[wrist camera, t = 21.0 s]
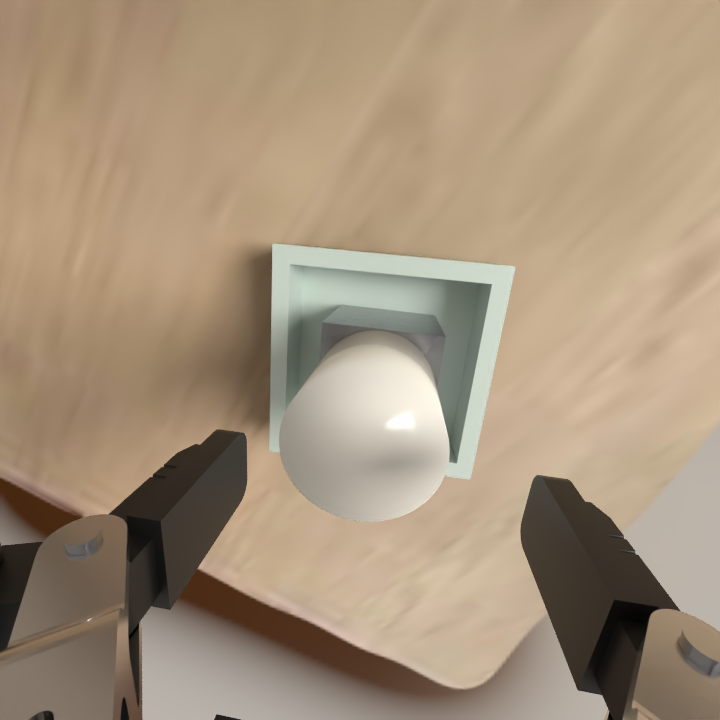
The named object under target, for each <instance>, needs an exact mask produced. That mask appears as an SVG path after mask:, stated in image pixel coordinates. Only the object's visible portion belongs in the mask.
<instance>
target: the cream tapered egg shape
mask: <svg viewBox="0 0 720 720" xmlns="http://www.w3.org/2000/svg"><path fill="white" fill-rule="evenodd" d="M279 450H280V455H281V460H282V463H283V466H284V468H285V470H286V472H287V474H288V476H289V478H290V480H291V481H292V483H293V484H294V485H295V487H296V488H297V489H298V490H299V491H300V493H301V494H303V495H304V496H305V497H306V498H307V499H308V500H309V501H311V502H312V503H313V504H315V505H316V506H317V507H319V508H321V509H323V510H324V511H326V512H329V513H331V514H333V515H335V516H338V517H342V518H345V519H349V520H354V521H363V522H377V521H385V520H390V519H394V518H398V517H400V516H403V515H406V514H408V513H410V512H412V511H414V510H415V509H417V508H418V507H420V506H421V505H423V504H424V503H425V502H426V501H427V500H428V499H429V498H431V496H432V495H433V494H434V493H435V492H436V490H437V489H438V487H439V486H440V484H441V483H442V481H443V478H444V476H445V474H446V471H447V467H448V463H449V455H450V447H449V438H448V433H447V429H446V425H445V421H444V417H443V413H442V408H441V404H440V400H439V396H438V392H437V388H436V384H435V380H434V376H433V372H432V369H431V366H430V364H429V363H428V361H427V359H426V357H425V356H424V355H423V353H422V352H421V351H420V350H419V349H418V348H417V347H416V346H415V345H414V344H412V343H411V342H410V341H408V340H407V339H405V338H403V337H401V336H399V335H397V334H393V333H390V332H385V331H376V330H371V331H363V332H358V333H355V334H352V335H349V336H347V337H345V338H344V339H342V340H340V341H339V342H338V343H336V344H335V345H334V346H333V347H332V348H331V349H330V350H329V351H328V353H327V354H326V355H325V357H324V358H323V359H322V361H321V362H320V363H319V365H318V366H317V367H316V369H315V370H314V372H313V373H312V374H311V376H310V377H309V378H308V380H307V381H306V382H305V384H304V385H303V387H302V388H301V389H300V391H299V392H298V393H297V395H296V396H295V397H294V399H293V400H292V401H291V403H290V405H289V406H288V408H287V410H286V412H285V414H284V416H283V419H282V422H281V426H280V432H279Z"/></svg>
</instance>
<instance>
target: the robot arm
mask: <svg viewBox="0 0 720 720" xmlns="http://www.w3.org/2000/svg"><path fill="white" fill-rule="evenodd" d="M246 485H247V441H246V436H245V434H244V433H240V432H233V431H226V430H216V431H214V432H213V433H212V434H211V435H210V436H209V437H208V438H207V439H206V440H205V441H204V442H203V443H202V444H201V445H198V444H195V445H193V446H191V447H189V448H187V449H184V450H182V451H180V452H178V453H177V454H176V455H175V456H173V457H172V458H171V459H170V460H169V461H168V462H167V463H166V464H164V467H161V468H160V469H159V470H158V471H157V472H155V473H154V474H153V477H150V478H149V479H148V480H147V481H145V482H144V483H143V484H142V485H141V486H140V487H139V488H138V489H136V490H135V491H134V492H133V493H132V494H131V495H130V496H129V497H127V498H126V499H125V500H124V501H123V502H122V503H121V504H120V505H118V506H117V507H116V508H115V509H114V510H113V511H112V512H111V513H109V514H102V515H94V516H89V517H85V518H82V519H79V520H76V521H74V522H71V523H69V524H67V525H65V526H64V527H62V528H60V529H58V530H57V531H56V532H54V533H53V534H51V535H50V536H49V537H48V538H47V539H46V540H45V541H44V542H35V543H25V544H15V545H4V546H1V544H0V720H142V628H141V619H142V618H143V616H144V615H145V614H146V612H147V611H148V609H149V608H150V607H151V606H153V607H159V608H164V609H169V610H170V609H171V608H172V606H173V605H174V603H175V602H176V600H177V599H178V597H179V595H180V594H181V592H182V591H183V589H184V588H185V586H186V585H187V583H188V582H189V580H190V579H191V577H192V576H193V574H194V573H195V571H196V570H197V568H198V567H199V565H200V564H201V562H202V560H203V559H204V557H205V556H206V554H207V553H208V551H209V550H210V548H211V547H212V545H213V544H214V542H215V541H216V539H217V538H218V536H219V535H220V533H221V531H222V530H223V528H224V527H225V525H226V524H227V522H228V521H229V519H230V518H231V516H232V515H233V513H234V512H235V510H236V509H237V507H238V506H239V504H240V502H241V501H242V499H243V496H244V493H245V490H246ZM521 542H522V547H523V550H524V552H525V555H526V557H527V560H528V563H529V565H530V568H531V570H532V573H533V575H534V578H535V581H536V583H537V586H538V588H539V591H540V594H541V596H542V599H543V601H544V604H545V607H546V609H547V612H548V614H549V617H550V619H551V622H552V625H553V627H554V630H555V632H556V635H557V638H558V640H559V643H560V645H561V648H562V650H563V653H564V656H565V658H566V661H567V663H568V666H569V669H570V671H571V674H572V676H573V679H574V682H575V684H576V687H577V689H578V690H579V691H585V692H589V693H595V694H600V695H603V697H604V700H605V702H606V704H607V707H608V711H607V714H606V716H605V718H604V720H720V632H719V631H718V630H716V629H715V628H714V627H712V626H710V625H709V624H707V623H705V622H704V621H702V620H700V619H698V618H696V617H694V616H691V615H689V614H687V613H684V612H681V611H680V610H679V609H678V607H677V606H676V605H675V603H674V602H673V601H672V599H671V598H670V597H669V595H668V594H667V593H666V591H665V590H664V589H663V587H662V586H661V585H660V583H659V582H658V581H657V579H656V578H655V577H654V575H653V574H652V573H651V571H650V570H649V569H648V567H647V566H646V565H645V563H644V562H643V561H642V559H641V558H640V557H639V555H636V554H635V550H634V549H633V547H632V546H631V545H630V544H629V542H628V541H627V540H626V539H624V536H623V534H622V533H621V532H620V530H619V529H618V528H617V526H616V525H615V524H614V522H613V521H612V520H611V518H609V517H608V516H607V515H606V514H605V513H603V512H602V511H601V510H600V509H598V508H597V507H596V506H595V505H593V504H592V503H591V502H585V501H584V499H583V498H582V497H581V495H580V494H579V492H578V491H577V489H576V488H575V487H574V485H573V484H572V482H571V481H570V480H568V479H562V478H555V477H548V476H541V475H537V476H536V477H535V478H534V479H533V482H532V485H531V489H530V492H529V496H528V500H527V504H526V507H525V511H524V515H523V518H522V522H521ZM214 720H240V719H236V718H231V717H226V716H222V715H216V717H215V719H214Z"/></svg>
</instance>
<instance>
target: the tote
mask: <svg viewBox="0 0 720 720" xmlns="http://www.w3.org/2000/svg"><path fill="white" fill-rule="evenodd" d="M514 272H515V266H508V265H501V264H493V263H483V262H472V261H462V260H451V259H440V258H430V257H419V256H409V255H398V254H387V253H377V252H366V251H356V250H345V249H334V248H324V247H313V246H303V245H291V244H272V309H271V376H270V444H269V451H274V452H280V450H279V432H280V426H281V422H282V419H283V416H284V414H285V412H286V410H287V408H288V406H289V405H290V403H291V401H292V400H293V399H294V397H295V396H296V395H297V393H298V392H299V391H300V389H301V388H302V387H303V385H304V384H305V382H306V381H307V380H308V378H309V377H310V376H311V374H312V373H313V372H314V370H315V369H316V367H317V366H318V365H319V363H320V348H321V332H322V322H323V321H324V320H325V319H326V318H327V317H328V316H330V315H331V314H332V313H333V312H334V311H335V310H336V309H337V308H339V307H340V306H341V305H351V306H359V307H368V308H377V309H385V310H394V311H403V312H412V313H420V314H429V315H435V316H436V318H437V320H438V322H439V324H440V326H441V328H442V330H443V332H444V334H445V336H446V339H445V345H444V350H443V356H442V362H441V368H440V373H439V379H438V385H437V392H438V396H439V400H440V404H441V408H442V413H443V417H444V421H445V425H446V429H447V433H448V438H449V447H450V455H449V463H448V467H447V471H446V474H445V476H449V477H456V478H463V479H471V474H472V469H473V464H474V460H475V455H476V450H477V446H478V441H479V436H480V432H481V427H482V422H483V417H484V413H485V408H486V403H487V399H488V394H489V389H490V385H491V380H492V375H493V370H494V366H495V361H496V356H497V352H498V347H499V342H500V338H501V333H502V328H503V323H504V319H505V314H506V309H507V305H508V300H509V295H510V291H511V286H512V281H513V276H514Z"/></svg>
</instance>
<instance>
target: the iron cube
mask: <svg viewBox="0 0 720 720" xmlns="http://www.w3.org/2000/svg"><path fill="white" fill-rule="evenodd" d="M371 330H376V331H385V332H390V333H393V334H397V335H399V336H401V337H403V338H405V339H407V340H408V341H410V342H411V343H412V344H414V345H415V346H416V347H417V348H418V349H419V350H420V351H421V352H422V353H423V355H424V356H425V357H426V359H427V361H428V363H429V364H430V366H431V369H432V372H433V376H434V380H435V384H436V388H437V385H438V379H439V373H440V368H441V362H442V356H443V350H444V345H445V339H446V336H445V334H444V332H443V330H442V328H441V326H440V324H439V322H438V320H437V318H436V316H435V315H429V314H420V313H412V312H403V311H394V310H385V309H377V308H368V307H359V306H351V305H341V306H340V307H339V308H337V309H336V310H335V311H334V312H333V313H332V314H331V315H330V316H328V317H327V318H326V319H325V320H324V321H323V322H322V332H321V348H320V362H321V361H322V359H323V358H324V357H325V355H326V354H327V353H328V351H329V350H330V349H331V348H332V347H333V346H334V345H335V344H336V343H338V342H339V341H340V340H342V339H344V338H345V337H347V336H349V335H352V334H355V333H358V332H363V331H371Z"/></svg>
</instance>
